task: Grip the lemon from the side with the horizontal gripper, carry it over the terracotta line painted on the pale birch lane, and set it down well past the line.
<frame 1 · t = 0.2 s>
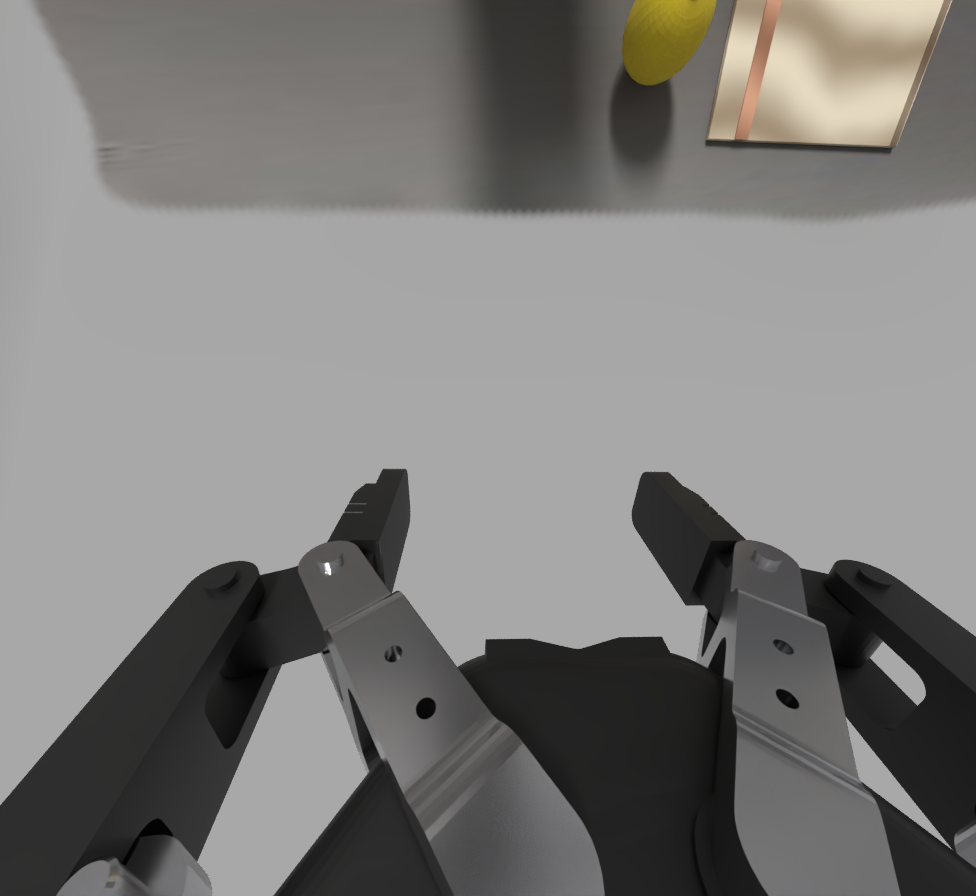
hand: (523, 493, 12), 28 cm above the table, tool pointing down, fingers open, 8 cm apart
lemon: (639, 62, 29), on the table
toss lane: (831, 38, 29), on the table
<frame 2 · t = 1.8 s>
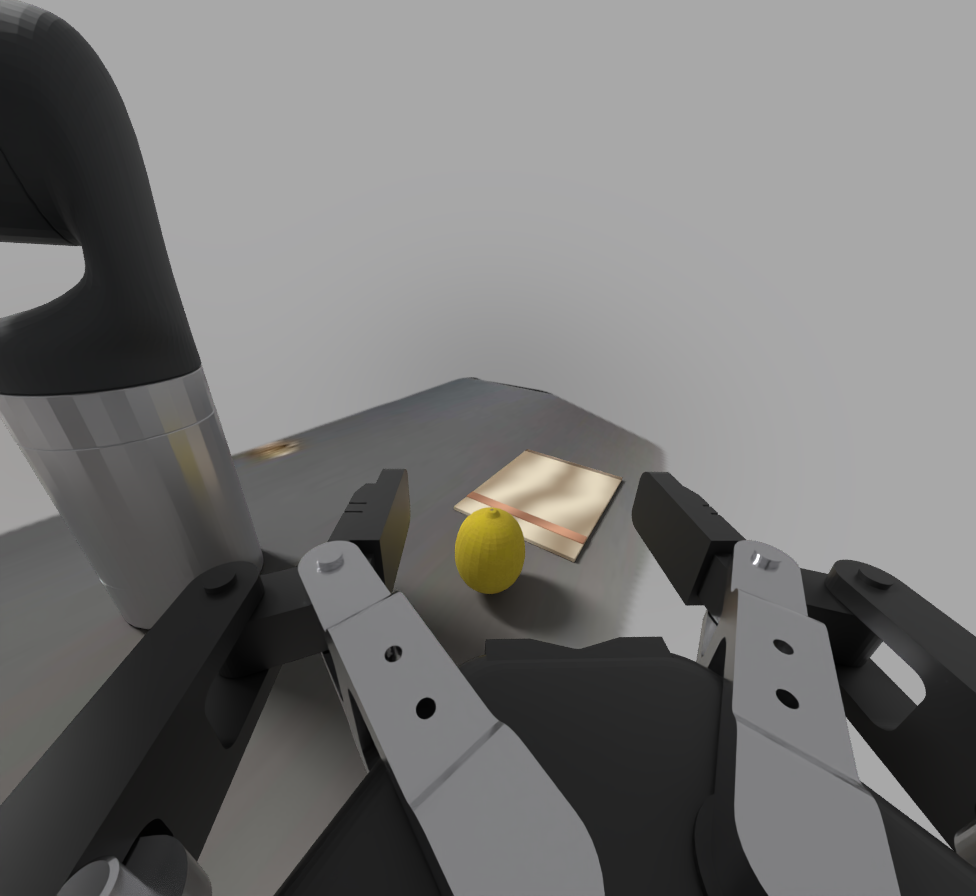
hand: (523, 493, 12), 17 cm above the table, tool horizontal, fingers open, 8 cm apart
lemon: (487, 589, 30), on the table
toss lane: (545, 493, 43), on the table
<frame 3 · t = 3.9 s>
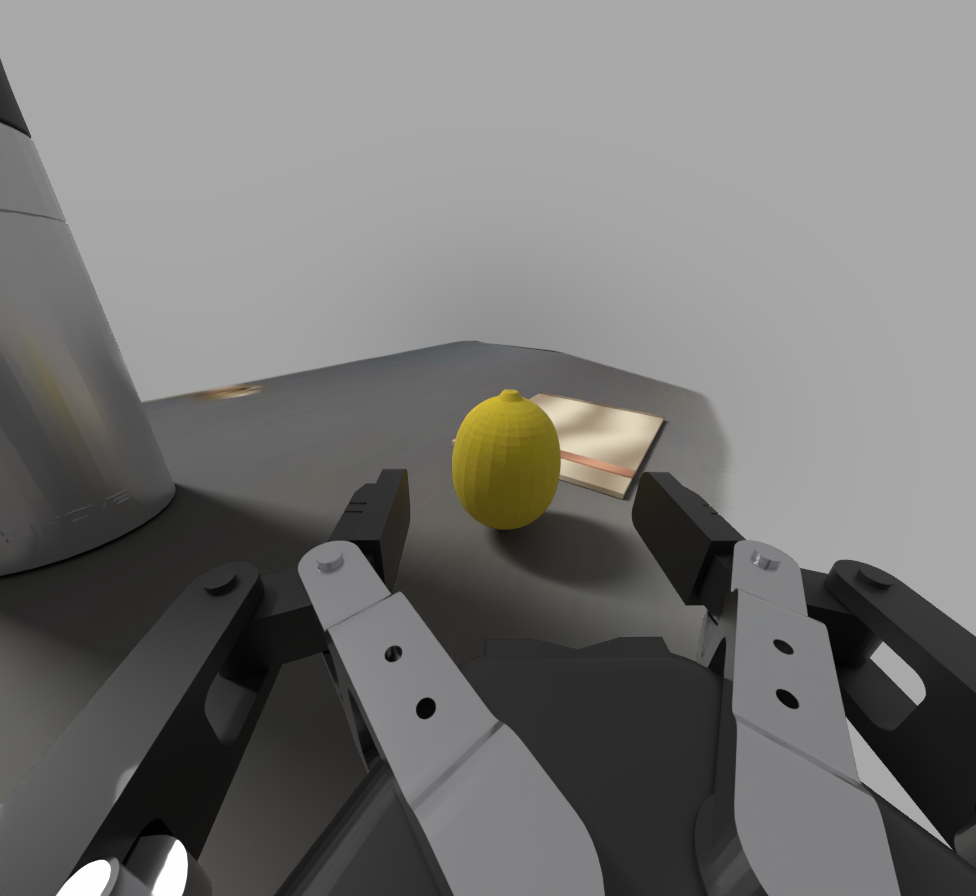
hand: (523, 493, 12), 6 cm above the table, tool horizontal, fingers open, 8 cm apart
lemon: (501, 530, 20), on the table
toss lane: (569, 431, 33), on the table
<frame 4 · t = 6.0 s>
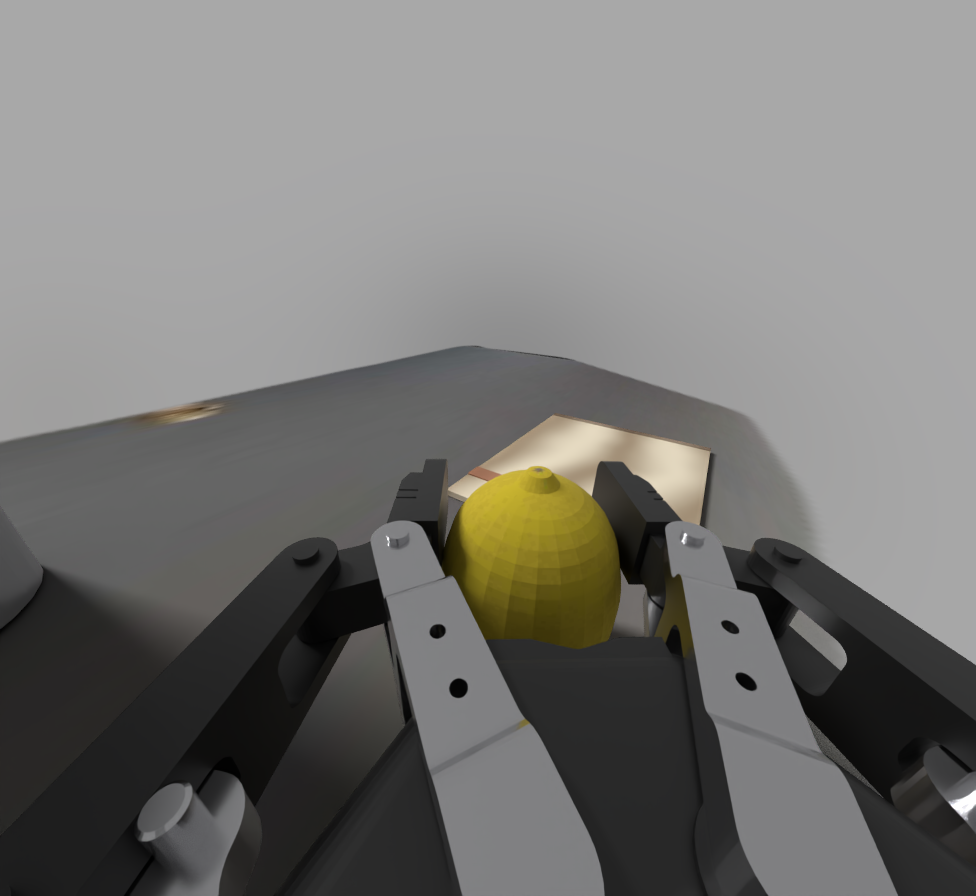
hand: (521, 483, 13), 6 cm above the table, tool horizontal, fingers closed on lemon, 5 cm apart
lemon: (517, 662, 13), on the table, touching gripper
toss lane: (595, 470, 26), on the table
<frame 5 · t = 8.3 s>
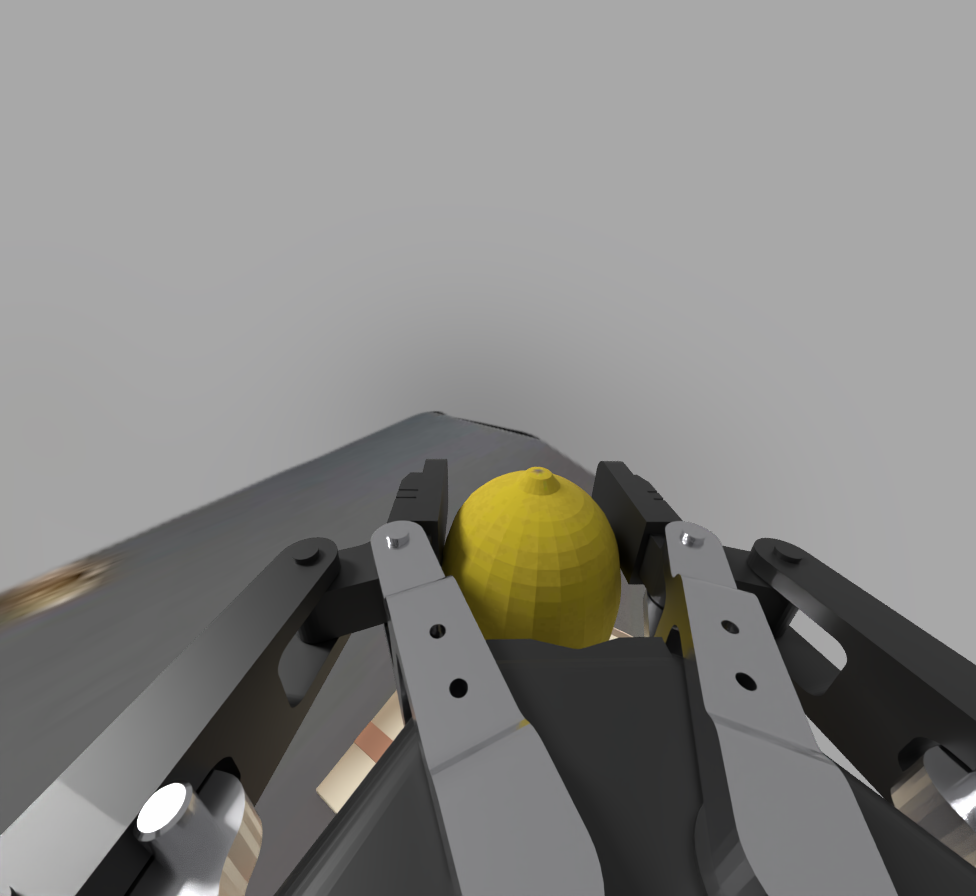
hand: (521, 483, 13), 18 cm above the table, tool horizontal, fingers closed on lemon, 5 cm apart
lemon: (517, 663, 13), point 12 cm above the table, touching gripper
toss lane: (516, 711, 22), on the table
when the fingers open (8 cm above the table, at t = 11.1 s): lemon drops 1 cm, resting on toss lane.
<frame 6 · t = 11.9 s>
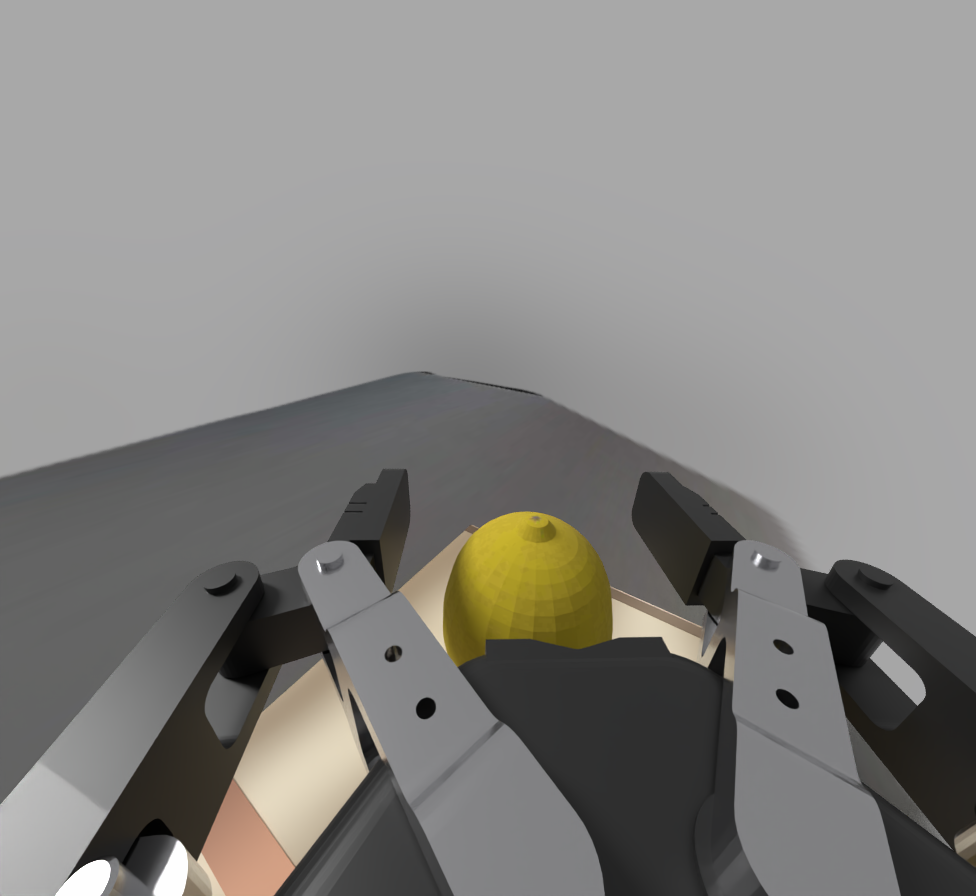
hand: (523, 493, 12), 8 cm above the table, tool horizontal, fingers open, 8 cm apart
lemon: (515, 689, 14), resting on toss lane
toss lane: (486, 737, 12), on the table
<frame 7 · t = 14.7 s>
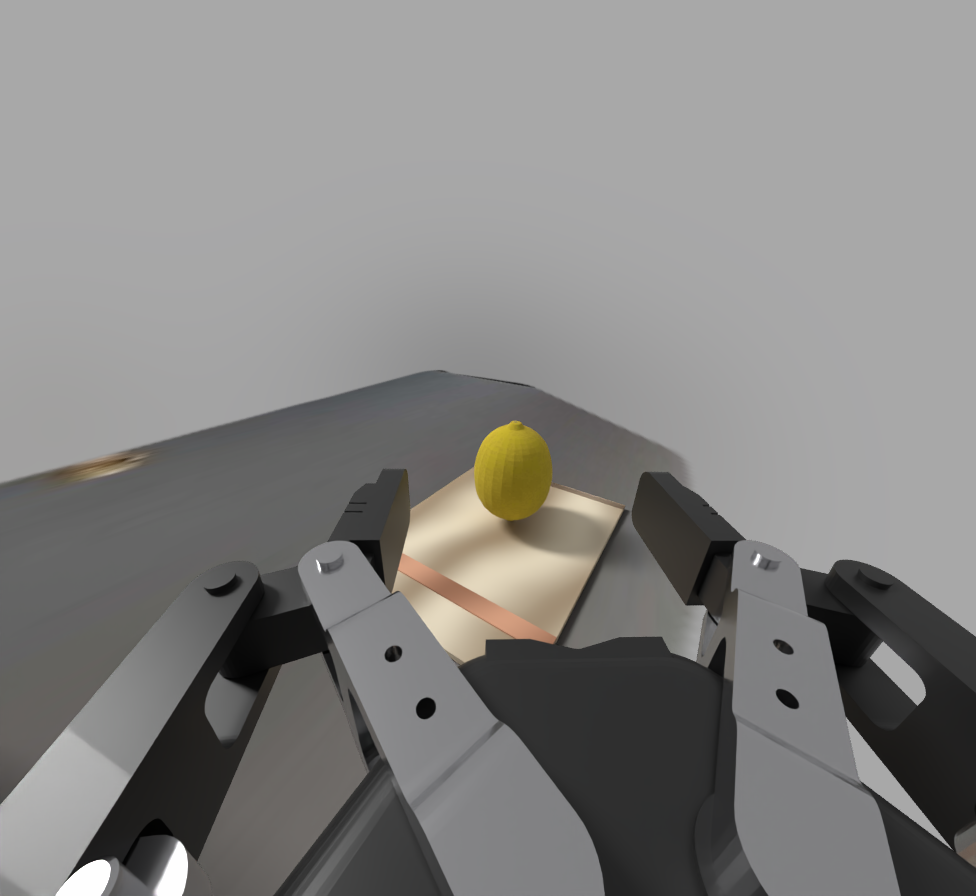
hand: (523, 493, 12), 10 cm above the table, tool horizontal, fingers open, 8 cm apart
lemon: (509, 521, 27), resting on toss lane
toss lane: (495, 536, 26), on the table
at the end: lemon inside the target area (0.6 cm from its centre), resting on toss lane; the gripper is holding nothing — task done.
